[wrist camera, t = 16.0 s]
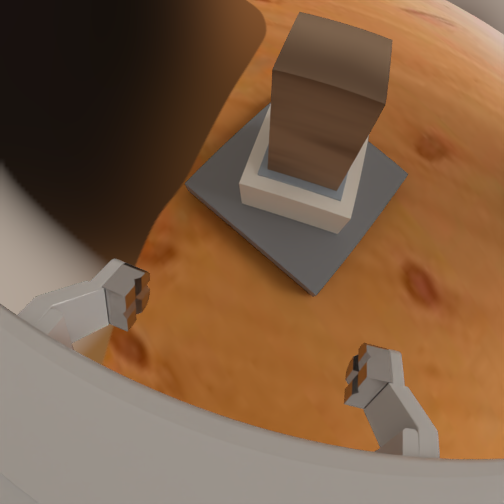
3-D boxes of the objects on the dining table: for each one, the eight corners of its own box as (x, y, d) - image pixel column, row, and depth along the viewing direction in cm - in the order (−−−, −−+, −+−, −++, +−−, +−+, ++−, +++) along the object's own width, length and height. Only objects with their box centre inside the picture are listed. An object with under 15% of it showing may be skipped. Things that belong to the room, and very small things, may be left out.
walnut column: (287, 114, 23) (299, 11, 13) (350, 134, 22) (392, 40, 13) (267, 169, 22) (272, 69, 12) (336, 191, 21) (385, 104, 12)
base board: (288, 95, 30) (292, 57, 24) (402, 180, 28) (428, 153, 22) (188, 190, 28) (172, 160, 22) (312, 296, 26) (327, 290, 20)
